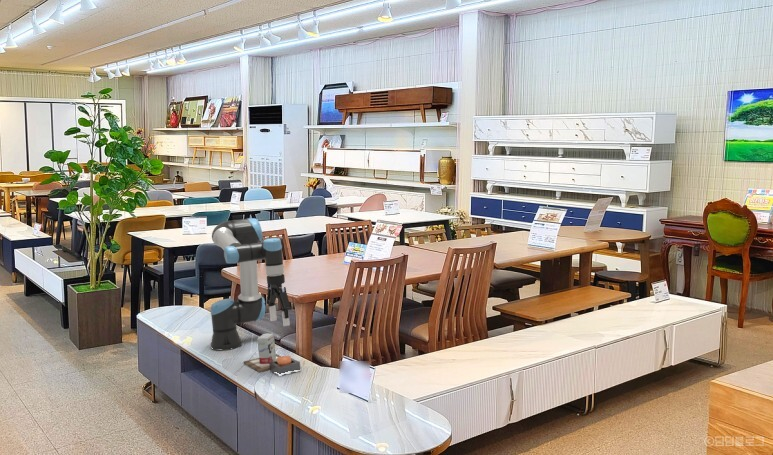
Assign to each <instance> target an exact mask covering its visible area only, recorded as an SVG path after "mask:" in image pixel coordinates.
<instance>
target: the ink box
mask: <svg viewBox="0 0 773 455" xmlns="http://www.w3.org/2000/svg"><path fill="white" fill-rule="evenodd" d="M257 349H258V351H257V352H258V358H259V361H260V364H269V362H272V361H273V360H274V359H276V354H277V353H276V344H275V334H274V333H262V334H261V335H260V336H258V337H257Z"/></svg>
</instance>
